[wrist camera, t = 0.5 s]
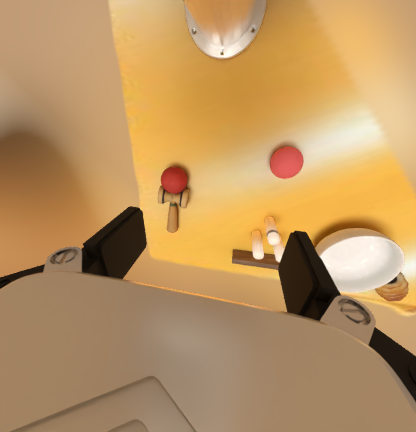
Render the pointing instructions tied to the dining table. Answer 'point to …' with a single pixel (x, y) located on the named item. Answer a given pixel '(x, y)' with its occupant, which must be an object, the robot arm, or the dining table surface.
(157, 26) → the dining table surface
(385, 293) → the pastry
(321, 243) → the cereal bowl
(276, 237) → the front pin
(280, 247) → the pin
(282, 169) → the ball
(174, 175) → the kendama
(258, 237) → the pin
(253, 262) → the wall
